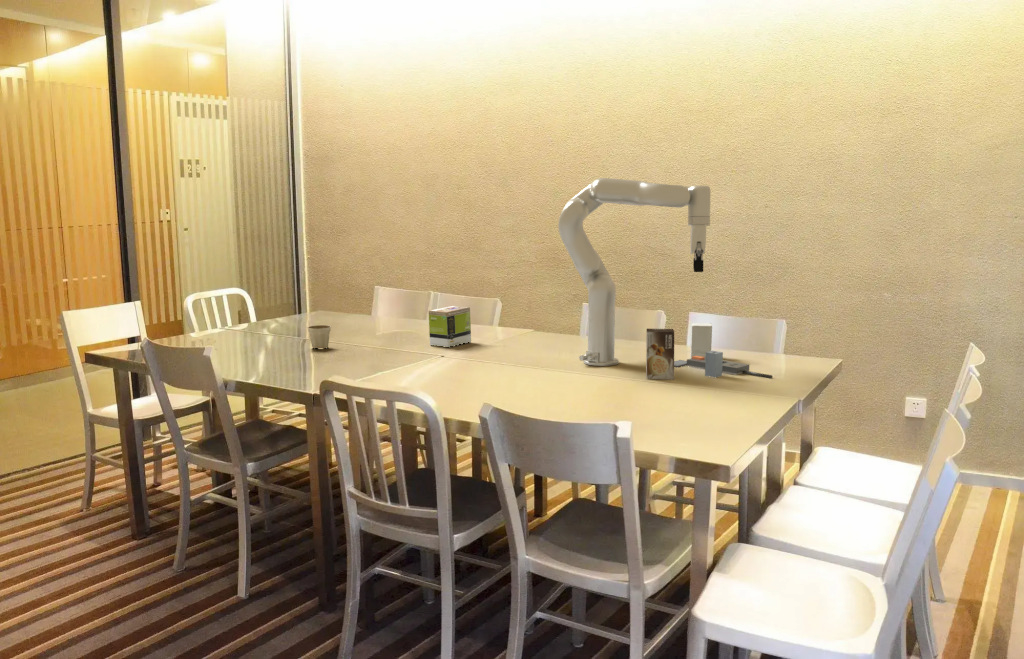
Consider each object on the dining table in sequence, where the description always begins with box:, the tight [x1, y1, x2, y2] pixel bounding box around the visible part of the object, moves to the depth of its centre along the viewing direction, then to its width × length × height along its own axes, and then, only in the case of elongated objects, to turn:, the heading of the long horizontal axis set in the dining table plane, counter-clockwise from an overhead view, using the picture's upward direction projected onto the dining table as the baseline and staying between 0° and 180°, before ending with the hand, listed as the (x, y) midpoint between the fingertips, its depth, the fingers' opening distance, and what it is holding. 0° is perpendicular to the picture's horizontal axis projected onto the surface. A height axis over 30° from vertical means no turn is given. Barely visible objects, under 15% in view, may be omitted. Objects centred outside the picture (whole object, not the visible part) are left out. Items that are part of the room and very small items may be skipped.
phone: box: [674, 359, 687, 368], centre depth 301 cm, size 10×6×1 cm, turn 134°
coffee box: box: [645, 328, 675, 380], centre depth 279 cm, size 9×6×16 cm
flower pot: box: [306, 324, 332, 349], centre depth 334 cm, size 9×9×9 cm
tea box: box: [428, 305, 472, 348], centre depth 341 cm, size 15×10×15 cm
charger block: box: [704, 350, 724, 378], centre depth 282 cm, size 4×4×8 cm
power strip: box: [686, 356, 773, 379], centre depth 289 cm, size 8×31×3 cm, turn 43°
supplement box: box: [690, 322, 713, 359], centre depth 311 cm, size 7×7×13 cm
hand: (698, 270), depth 297 cm, fingers open, 9 cm apart
